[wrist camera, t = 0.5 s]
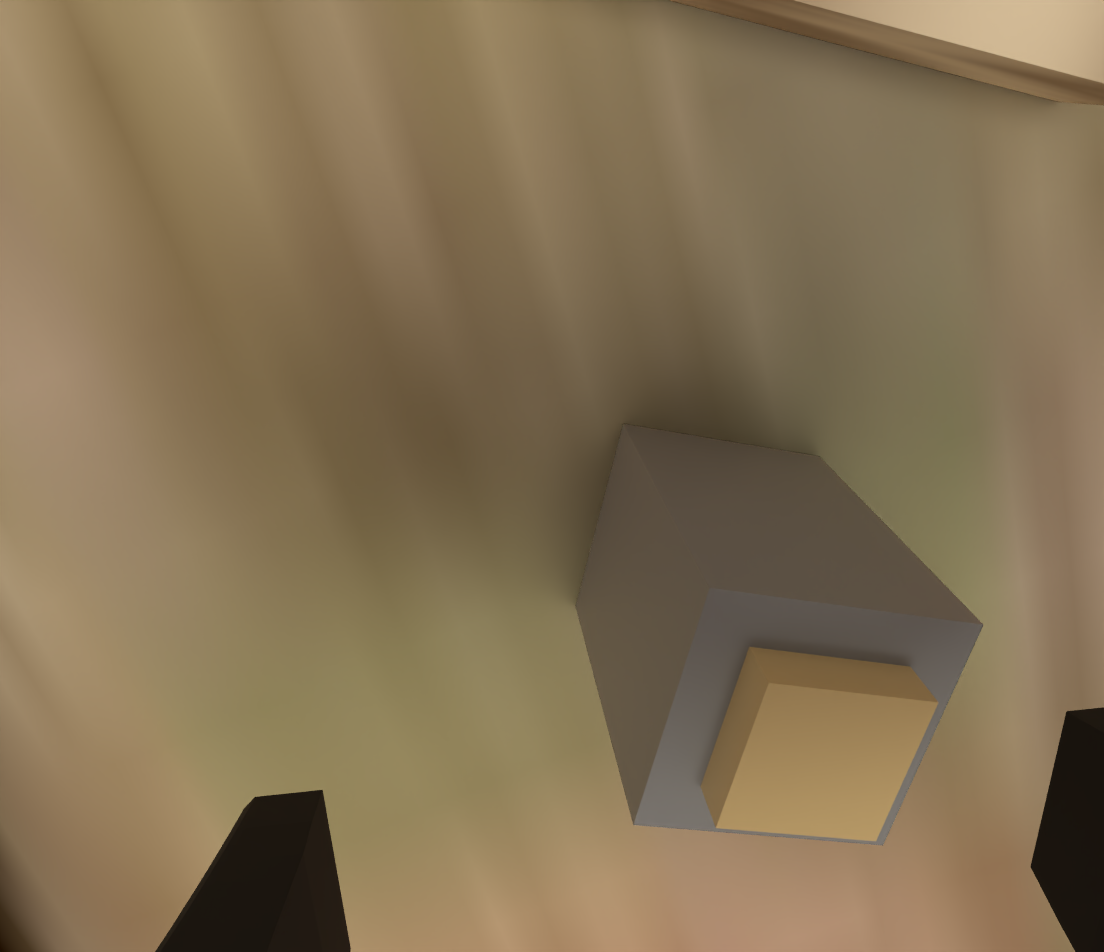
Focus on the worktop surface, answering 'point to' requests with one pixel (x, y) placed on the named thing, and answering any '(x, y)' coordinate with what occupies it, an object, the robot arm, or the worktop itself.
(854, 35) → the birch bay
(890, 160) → the worktop surface
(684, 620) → the slate plug
